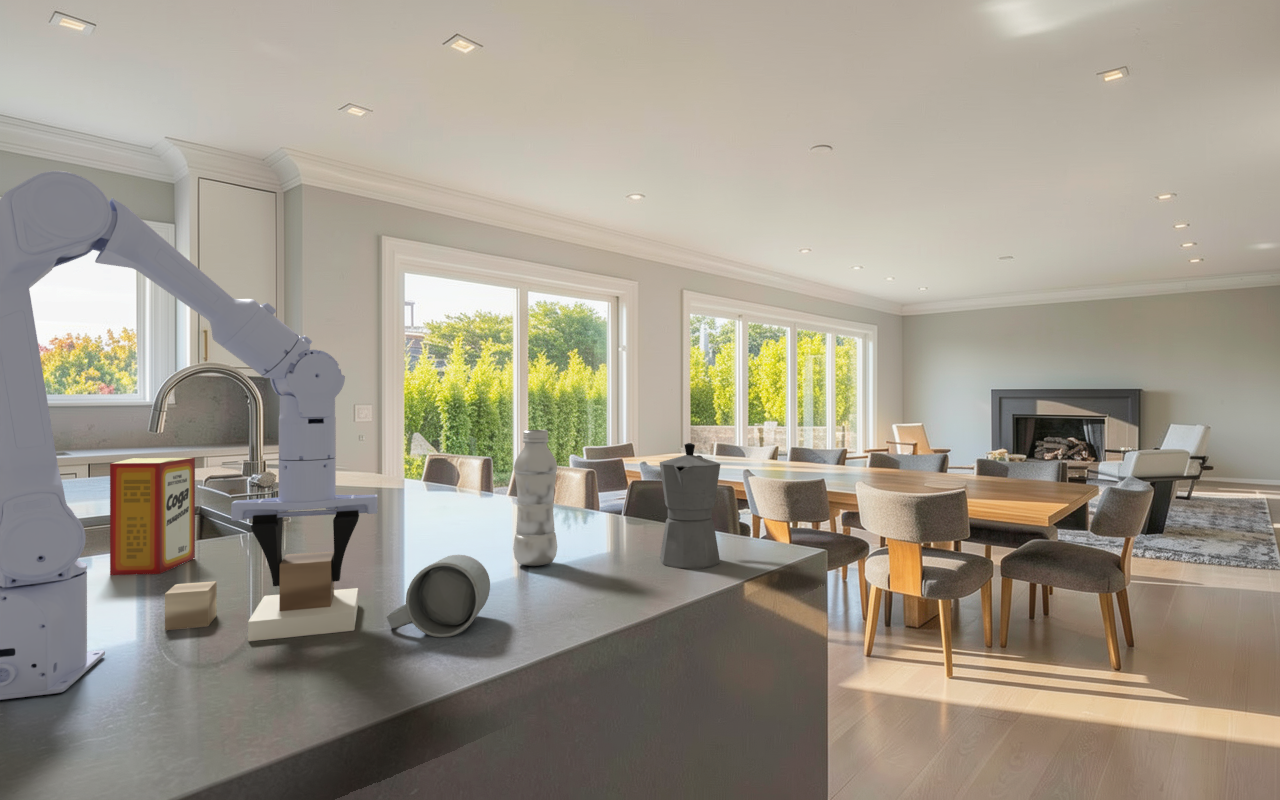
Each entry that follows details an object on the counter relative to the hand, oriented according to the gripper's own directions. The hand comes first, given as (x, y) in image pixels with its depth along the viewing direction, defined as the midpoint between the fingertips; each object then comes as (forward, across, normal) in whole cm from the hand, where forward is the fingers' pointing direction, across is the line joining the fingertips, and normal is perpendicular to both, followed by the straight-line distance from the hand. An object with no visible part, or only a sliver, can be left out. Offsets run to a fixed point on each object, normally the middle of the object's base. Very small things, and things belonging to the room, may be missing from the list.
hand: (307, 581), depth 78 cm
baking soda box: (+5, +24, -36) cm, 44 cm away
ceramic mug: (+5, -14, +6) cm, 16 cm away
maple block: (+4, +12, -4) cm, 13 cm away
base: (+4, 0, 0) cm, 4 cm away
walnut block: (+2, 0, 0) cm, 2 cm away
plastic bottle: (+5, -29, -18) cm, 34 cm away
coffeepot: (+5, -52, -13) cm, 54 cm away
